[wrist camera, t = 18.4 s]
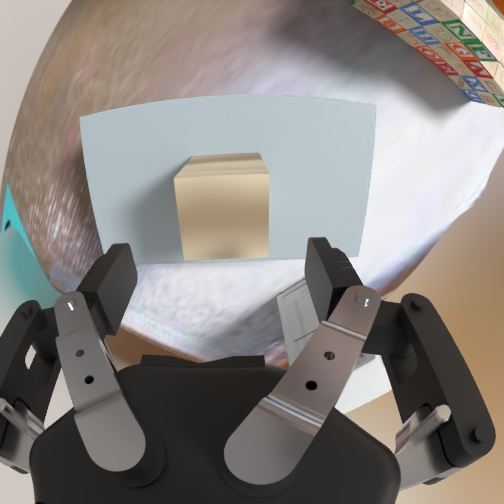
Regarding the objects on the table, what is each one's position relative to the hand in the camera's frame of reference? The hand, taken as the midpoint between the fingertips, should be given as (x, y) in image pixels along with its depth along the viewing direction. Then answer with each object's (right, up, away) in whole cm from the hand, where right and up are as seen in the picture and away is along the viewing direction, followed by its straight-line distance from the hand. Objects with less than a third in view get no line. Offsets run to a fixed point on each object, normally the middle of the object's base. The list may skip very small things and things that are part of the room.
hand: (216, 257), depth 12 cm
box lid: (-1, +6, +10) cm, 12 cm away
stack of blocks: (+23, +27, +9) cm, 37 cm away
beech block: (0, +6, +9) cm, 11 cm away
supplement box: (+11, -6, +28) cm, 31 cm away
